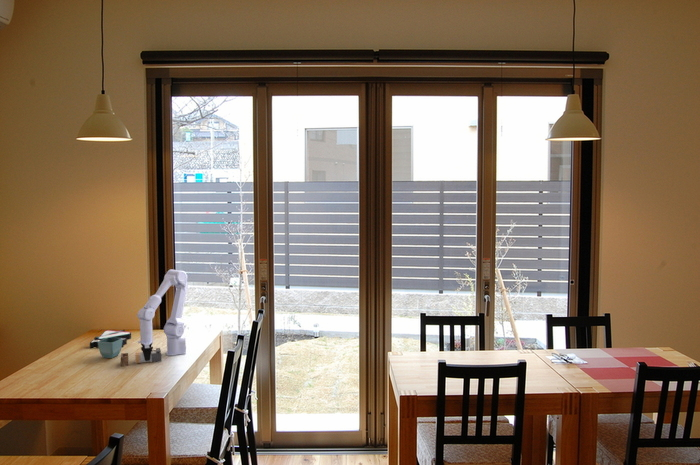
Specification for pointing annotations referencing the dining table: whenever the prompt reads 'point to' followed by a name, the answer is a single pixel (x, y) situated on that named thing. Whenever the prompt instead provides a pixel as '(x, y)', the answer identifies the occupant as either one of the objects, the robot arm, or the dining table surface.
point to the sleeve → (156, 355)
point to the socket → (124, 359)
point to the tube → (140, 357)
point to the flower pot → (110, 347)
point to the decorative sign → (114, 335)
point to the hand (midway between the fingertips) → (147, 358)
